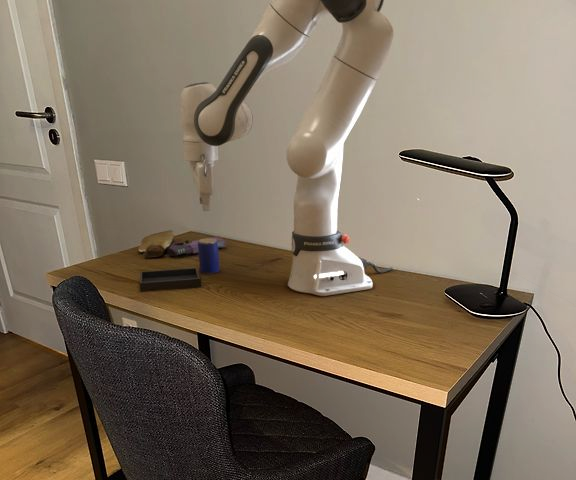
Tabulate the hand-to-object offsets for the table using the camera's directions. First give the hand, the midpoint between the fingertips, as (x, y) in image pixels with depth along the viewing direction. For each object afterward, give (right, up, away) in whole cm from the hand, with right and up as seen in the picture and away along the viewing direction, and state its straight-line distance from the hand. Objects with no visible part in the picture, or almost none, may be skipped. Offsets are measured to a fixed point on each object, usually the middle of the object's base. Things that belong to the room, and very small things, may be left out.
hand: (204, 207), depth 157 cm
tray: (-9, -21, -1) cm, 23 cm away
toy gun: (-8, -6, +29) cm, 30 cm away
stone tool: (-20, -4, +31) cm, 38 cm away
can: (0, -16, +8) cm, 18 cm away
